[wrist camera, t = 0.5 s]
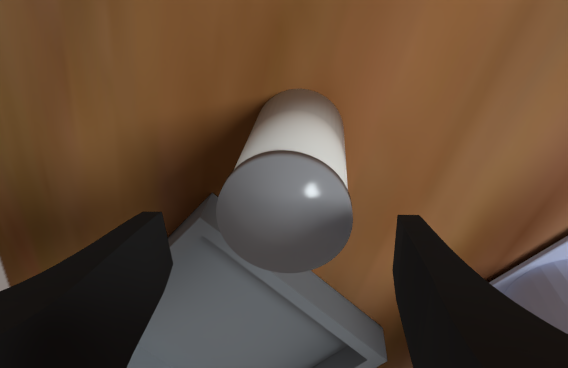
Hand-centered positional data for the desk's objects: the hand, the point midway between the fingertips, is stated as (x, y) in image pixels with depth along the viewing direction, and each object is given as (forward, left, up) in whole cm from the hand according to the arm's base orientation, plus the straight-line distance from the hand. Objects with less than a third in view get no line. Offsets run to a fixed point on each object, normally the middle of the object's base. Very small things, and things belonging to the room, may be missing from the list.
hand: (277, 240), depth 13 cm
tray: (-6, +13, -9) cm, 17 cm away
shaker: (0, 0, -9) cm, 9 cm away
